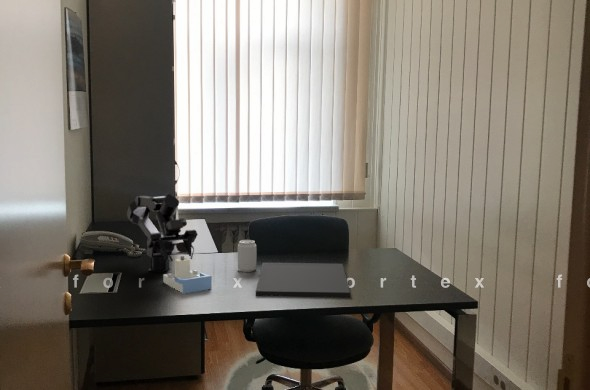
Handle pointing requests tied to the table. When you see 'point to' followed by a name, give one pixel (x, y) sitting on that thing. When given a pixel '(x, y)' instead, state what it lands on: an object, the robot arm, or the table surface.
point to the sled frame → (189, 282)
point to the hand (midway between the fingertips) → (179, 257)
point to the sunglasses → (180, 248)
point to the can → (247, 255)
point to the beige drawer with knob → (182, 268)
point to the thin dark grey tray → (302, 280)
